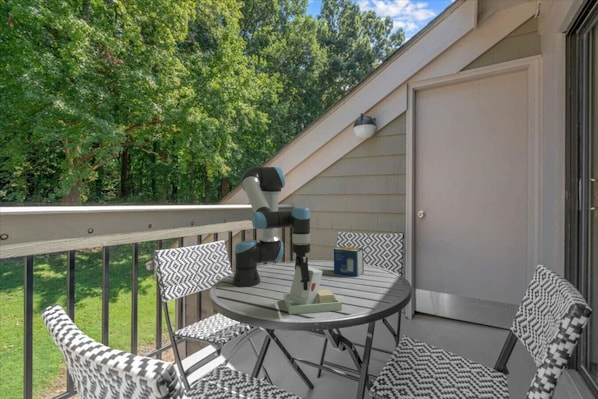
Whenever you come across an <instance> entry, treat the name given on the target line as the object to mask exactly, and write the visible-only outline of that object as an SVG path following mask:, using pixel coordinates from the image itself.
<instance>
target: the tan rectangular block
mask: <svg viewBox="0 0 598 399" xmlns="http://www.w3.org/2000/svg"><path fill="white" fill-rule="evenodd" d="M334 295H335V293H334V292H332V291H331V290H330V289H326V288H325V289H318V293H317V298H316V302H317V303H318V304H320V303H332V302H334Z"/></svg>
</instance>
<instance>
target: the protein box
mask: <svg viewBox="0 0 598 399" xmlns="http://www.w3.org/2000/svg"><path fill="white" fill-rule="evenodd" d="M333 274H335V275H341V276H347V277H352V278H354V277H355V278H357V277H359V276H361V275H363V274H364V248H362V247H353V246H343V245H342V246H338V247H334V248H333Z"/></svg>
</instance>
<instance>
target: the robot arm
mask: <svg viewBox="0 0 598 399" xmlns="http://www.w3.org/2000/svg"><path fill="white" fill-rule="evenodd" d="M240 186H241V188H242V190H243V191H244V192H246V196H247V198H248V201H249V203H250V206H251V208H252V210H253V213H252V215H251V223H252V227H253V229H255V230H261V231H262V233H261V234H262V235H261V237H259V242H258V241H257V240H255V239H247V240H243V241H239V242H237V243H236V244H235V246H234V247H235V249H234V253H235V254H234V255H235V259H234V260H235V271H234V273H233V278H232V285H233V286H235V287H240V286H243V287H253V286H256V285H259V284H260V283H261V277H260V274H259V272H258V264H263V263H274V262H278V261H280V260H281V259H282V258H283V255H284V243H283V241H282V240H281V238H280V237H279V236H278V234H279V233H278V231H279V229H286V228H287V229H288V228H292V230H291V231H292V234H291V235H292V238H291V239H292V243H293V244H292V252H293V253H294V254H295V265H294V270H295V271H296V266H299V267H300V269H301V276H302V280H301V282H302V298H307V297H309V293H308V282H309V281H310V279H309V270H308V266H309V264H308V261H309V260H308V256H307V255H306V254H309V253H310V252H311V243H310V242H311V237H312V235H311V228H310V227H311V223H310V222H311V214H310V208H309V207H307V206H306V207H302V206H301V207H300V206H298V207H297V206H296V207H293V208H292V209H291V210H279V194H280V193H281V192H282V189H283V188H285V186H286V176H285V173H284V170H283V169H282V168H280V167H277V166H253V167H249V168H248V169H247V170H245V171H244V173H243V174H242V176H241V178H240ZM305 278H306V279H305ZM243 287H242V288H243Z"/></svg>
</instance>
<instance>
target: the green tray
mask: <svg viewBox="0 0 598 399" xmlns="http://www.w3.org/2000/svg"><path fill="white" fill-rule="evenodd" d="M289 295H290V292H289V293H283V302H284V305H285V308H286V310H287V312H288V315H299V314H310V313H321V312H334V311H342V310H343V305H342V304H343V302H342V301H341V300H340V299H339V298H338V297H337V296H336V295H335V294H334V302H332V303H320V304H318V303H317V302H315V304H308V305H300V304H297V303H295V302H293V301H291V300H288V299H289Z"/></svg>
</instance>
